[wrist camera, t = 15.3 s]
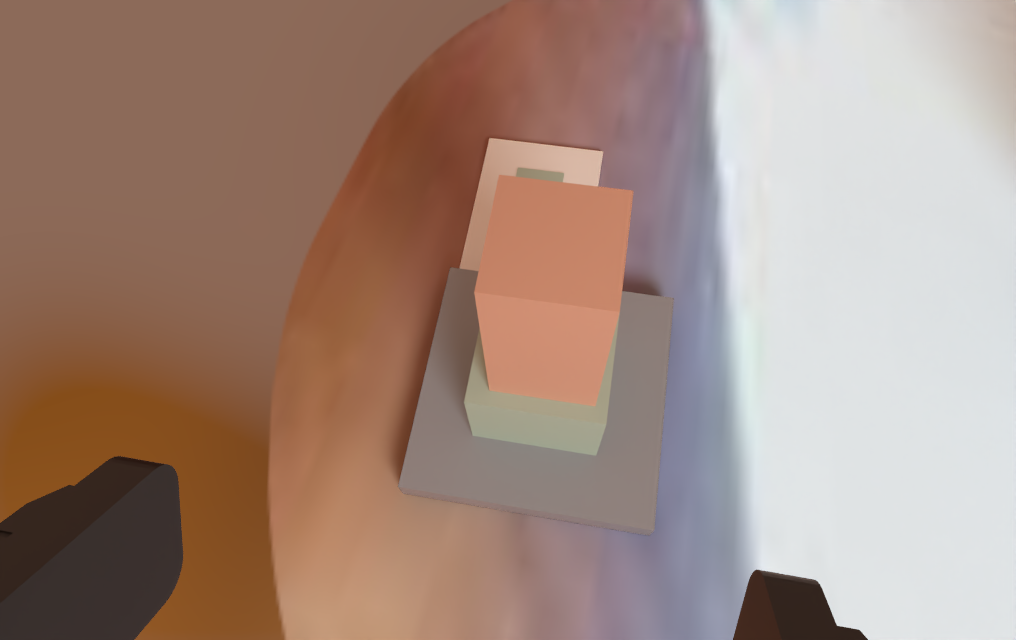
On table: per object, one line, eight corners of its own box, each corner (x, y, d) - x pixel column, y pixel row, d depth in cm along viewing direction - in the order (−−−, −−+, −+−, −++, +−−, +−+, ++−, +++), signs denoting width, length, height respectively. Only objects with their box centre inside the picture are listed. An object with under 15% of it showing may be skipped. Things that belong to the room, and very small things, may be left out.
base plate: (453, 280, 40) (450, 267, 39) (668, 310, 39) (673, 298, 37) (403, 493, 35) (398, 486, 34) (649, 535, 34) (654, 530, 32)
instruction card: (489, 141, 44) (489, 137, 44) (602, 154, 43) (603, 150, 43) (457, 281, 40) (456, 278, 40) (581, 299, 39) (582, 296, 39)
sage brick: (494, 324, 37) (489, 278, 32) (610, 341, 36) (621, 296, 32) (472, 435, 34) (463, 402, 30) (596, 455, 34) (606, 424, 29)
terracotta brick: (506, 297, 32) (499, 174, 24) (606, 310, 32) (633, 190, 23) (489, 390, 30) (474, 292, 22) (595, 406, 30) (619, 311, 22)
